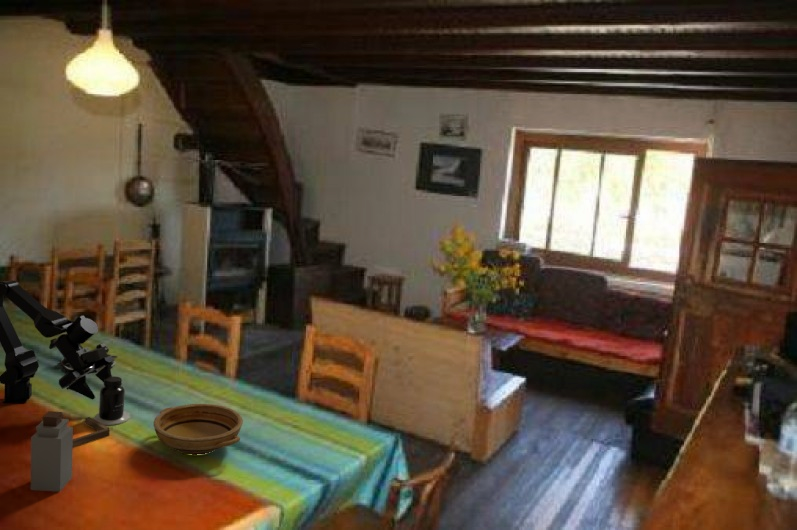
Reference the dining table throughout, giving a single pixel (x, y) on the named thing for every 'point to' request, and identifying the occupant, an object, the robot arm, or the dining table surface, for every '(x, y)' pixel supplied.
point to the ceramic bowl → (198, 427)
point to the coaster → (123, 419)
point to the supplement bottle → (111, 399)
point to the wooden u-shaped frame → (101, 433)
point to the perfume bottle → (51, 453)
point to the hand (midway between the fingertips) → (104, 393)
